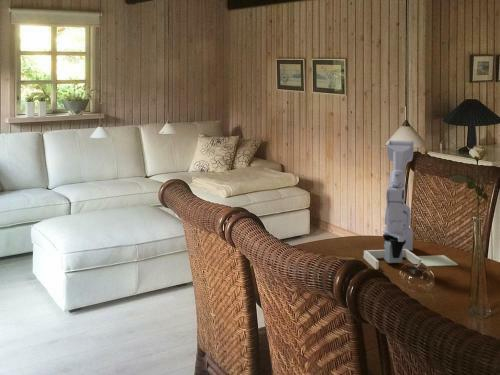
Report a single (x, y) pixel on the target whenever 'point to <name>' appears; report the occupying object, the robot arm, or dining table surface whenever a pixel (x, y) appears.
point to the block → (389, 256)
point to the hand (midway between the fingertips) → (393, 255)
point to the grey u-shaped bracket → (373, 254)
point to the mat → (436, 261)
